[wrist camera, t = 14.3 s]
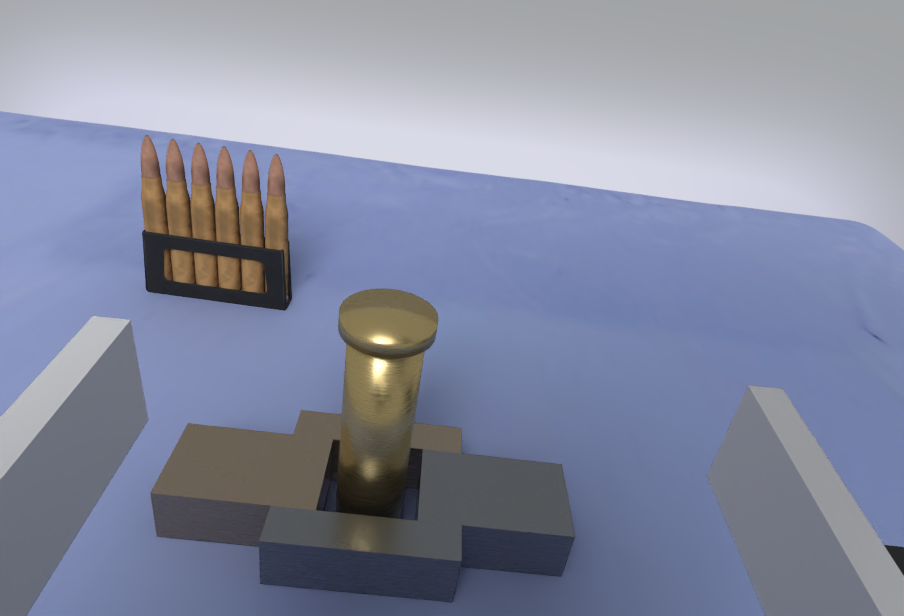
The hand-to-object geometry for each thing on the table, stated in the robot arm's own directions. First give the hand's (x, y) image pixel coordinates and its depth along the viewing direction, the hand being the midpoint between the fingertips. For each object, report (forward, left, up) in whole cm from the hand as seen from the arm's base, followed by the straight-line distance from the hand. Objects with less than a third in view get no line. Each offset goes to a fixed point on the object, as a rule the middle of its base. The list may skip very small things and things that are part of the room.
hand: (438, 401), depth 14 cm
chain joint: (+2, -12, -18) cm, 22 cm away
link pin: (+2, -12, -18) cm, 22 cm away
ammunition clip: (+16, -32, -19) cm, 41 cm away
